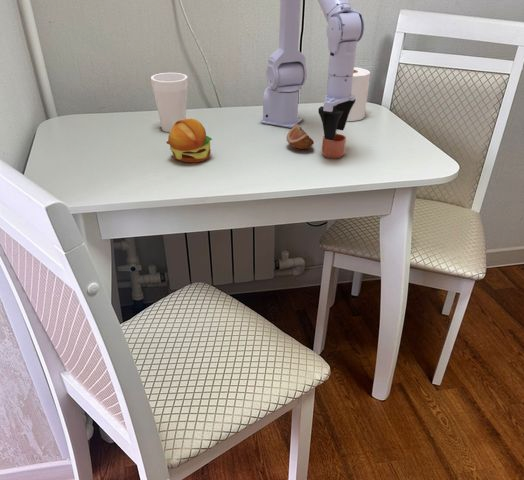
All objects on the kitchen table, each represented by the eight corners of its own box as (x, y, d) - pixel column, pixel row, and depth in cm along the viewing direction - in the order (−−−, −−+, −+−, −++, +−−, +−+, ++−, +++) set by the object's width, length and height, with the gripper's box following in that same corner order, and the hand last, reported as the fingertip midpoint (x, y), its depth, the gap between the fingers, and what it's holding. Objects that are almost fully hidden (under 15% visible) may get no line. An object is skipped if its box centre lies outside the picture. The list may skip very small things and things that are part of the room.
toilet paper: (322, 116, 160) (326, 71, 152) (341, 108, 166) (345, 64, 158) (352, 123, 155) (358, 77, 147) (370, 115, 162) (376, 70, 154)
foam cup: (197, 127, 151) (194, 76, 142) (176, 136, 145) (172, 84, 136) (171, 120, 155) (166, 70, 146) (149, 129, 149) (143, 78, 140)
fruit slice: (317, 153, 137) (319, 133, 134) (292, 155, 136) (293, 135, 133) (307, 141, 144) (308, 122, 140) (282, 143, 142) (283, 124, 139)
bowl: (318, 157, 136) (319, 139, 133) (325, 149, 140) (327, 132, 137) (339, 160, 134) (341, 142, 131) (346, 153, 138) (348, 135, 135)
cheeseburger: (219, 151, 137) (215, 113, 129) (203, 176, 131) (197, 139, 123) (183, 145, 139) (176, 108, 131) (165, 169, 134) (157, 132, 126)
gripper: (347, 83, 118) (340, 146, 127) (366, 68, 128) (358, 127, 137) (316, 79, 121) (312, 141, 129) (338, 65, 131) (332, 123, 139)
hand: (334, 134), depth 133 cm, fingers open, 7 cm apart
